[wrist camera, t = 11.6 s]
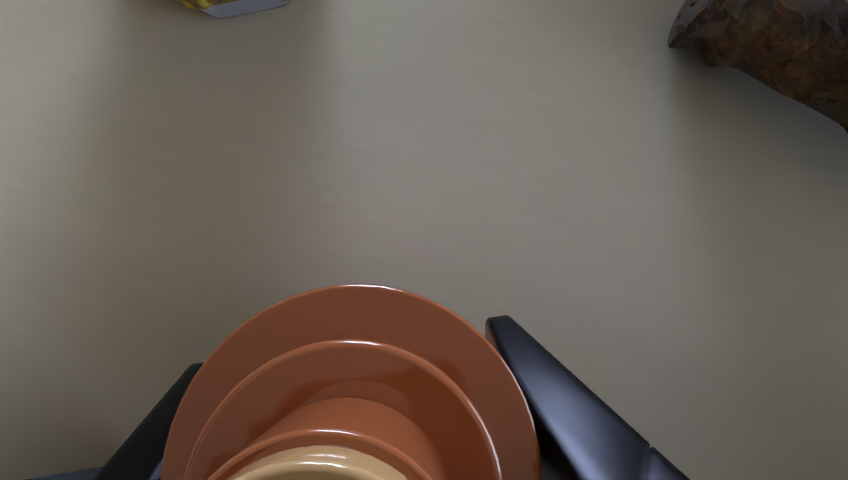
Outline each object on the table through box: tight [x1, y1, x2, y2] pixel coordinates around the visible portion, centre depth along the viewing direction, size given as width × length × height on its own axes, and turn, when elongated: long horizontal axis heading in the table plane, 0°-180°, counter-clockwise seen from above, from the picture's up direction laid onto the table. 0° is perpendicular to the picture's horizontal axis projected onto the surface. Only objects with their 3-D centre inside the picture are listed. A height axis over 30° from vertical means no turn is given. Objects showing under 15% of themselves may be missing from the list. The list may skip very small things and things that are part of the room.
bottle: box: [161, 284, 542, 480], centre depth 9 cm, size 5×5×12 cm
